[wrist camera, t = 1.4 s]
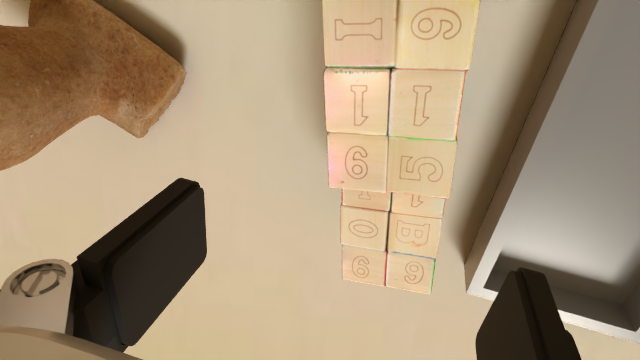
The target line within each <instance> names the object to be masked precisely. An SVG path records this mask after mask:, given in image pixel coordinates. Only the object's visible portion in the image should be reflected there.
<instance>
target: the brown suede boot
mask: <svg viewBox="0 0 640 360" xmlns="http://www.w3.org/2000/svg"><path fill="white" fill-rule="evenodd" d="M28 24H29V27H15V26H3V25H0V171H1V170H4V169H7V168H10V167H12V166H15V165H17V164H19V163H22V162H24V161H26V160H28V159H29V158H31V157H32V156H34V155H35V154H37V153H38V152H39V151H41V150H42V149H43V148H44V147H45V146H47V145H48V144H49V143H51V142H52V141H53V140H55V139H56V138H58V137H59V136H60V135H62V134H63V133H64V132H66V131H67V130H69V129H70V128H72V127H73V126H75V125H76V124H78V123H79V122H81V121H82V120H84V119H86V118H88V117H90V116H93V115H100V116H102V117H104V118H105V119H107V120H109V121H111V122H113V123H114V124H116V125H118V126H119V127H121V128H123V129H124V130H126V131H127V132H129V133H130V134H132V135H134V136H135V137H137V138H142V137H144V136H145V135H146V134H147V132H148V129H149V128H150V127H151V126H152V125H153V124H155V123H156V122H157V121H158V120H159V117H160V116H161V115H162V114H163V113H164V111H165V110H166V109H167V108H168V107H169V105H170V103H171V100H173V99H174V98H175V97H176V96H177V94H178V93H179V91H180V87H181V86H182V85H183V83H184V79H185V76H186V70H185V69H184V67H183V66H182V65H181V64H180V63H179V62H178V61H176V60H175V59H174V58H173V57H171V56H170V55H169V54H167V53H166V52H165V51H164V50H162V49H161V48H160V47H159V46H157V45H156V44H155V43H153V42H152V41H150V40H149V39H148V38H146V37H145V36H143V35H142V34H141V33H139V32H138V31H136V30H135V29H134V28H132V27H131V26H129V25H128V24H127V23H125V22H124V21H123V20H121V19H120V18H118V17H117V16H115V15H114V14H113V13H111V12H110V11H108V10H107V9H105V8H104V7H102V6H101V5H100V4H98V3H96V2H95V1H93V0H31V3H30V9H29V21H28Z"/></svg>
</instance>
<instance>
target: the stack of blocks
mask: <svg viewBox="0 0 640 360" xmlns="http://www.w3.org/2000/svg"><path fill="white" fill-rule="evenodd" d="M480 1H481V0H322V18H323V41H324V61H325V65H326V69H325V70H324V74H323V76H324V98H325V122H326V129H327V132H328V134H327V153H328V176H329V187H331V188H342V204H341V209H340V242H341V244H342V279H345V280H350V281H356V282H361V283H367V284H372V285H377V286H382V287H383V286H388V287H392V288H397V289H402V290H408V291H413V292H419V293H424V294H431V291H432V283H433V275H434V269H435V259H436V258H437V253H438V245H439V238H440V231H441V225H442V217H443V212H444V205H445V199H449V198H450V192H451V185H452V178H453V171H454V163H455V156H456V149H457V129H458V122H459V115H460V108H461V101H462V95H463V88H464V81H465V73H466V72H467V71H468V70H469V68H470V64H471V58H472V51H473V45H474V38H475V31H476V25H477V19H478V13H479V7H480Z"/></svg>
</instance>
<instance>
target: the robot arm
mask: <svg viewBox="0 0 640 360" xmlns="http://www.w3.org/2000/svg"><path fill="white" fill-rule="evenodd" d="M206 254H207V244H206V225H205V205H204V190H203V189H202V188H200V185H199V183H198V182H195V181H191V180H188V179H184V178H179V179H177V180H176V181H174V182H173V183H172V184H170V185H169V186H168V187H167V188H165V189H164V190H163V191H161V192H160V193H159V194H158V195H156V196H155V197H154V198H152V199H151V200H150V201H148V202H147V203H146V204H145V205H143V206H142V207H141V208H139V209H138V210H137V211H135V212H134V213H133V214H132V215H130V216H129V217H128V218H126V219H125V220H124V221H123V222H121V223H120V224H119V225H117V226H116V227H115V228H113V229H112V230H111V231H110V232H108V233H107V234H106V235H104V236H103V237H102V238H100V239H99V240H98V241H97V242H95V243H94V244H93V245H91V246H90V247H89V248H88V249H86V250H85V251H84V252H82V253H81V254H80V255H78V256H77V261H76V262H74V263H73V264H72V265H70V264H69V263H68V262H66V261H63V260H58V259H47V260H41V261H37V262H33V263H30V264H28V265H26V266H23V267H21V268H20V269H18V270H17V271H15V272H13V273H12V274H11V275H10V276H9V277H8V278H7V279H6V281H5V282H4V284H3V286H2V288H1V290H0V360H142V359H139V358H136V357H134V356H131V355H128V354H125V353H123V352H124V351H125V350H126V348H127V347H128V346H133V345H135V344H136V343H137V342H138V341H139V339H140V338H141V337H142V336H143V335H144V333H145V332H146V331H147V330H148V328H149V327H150V326H151V325H152V324H153V322H154V321H155V320H156V319H157V318H158V316H159V315H160V314H161V313H162V312H163V310H164V309H165V308H166V307H167V305H168V304H169V303H170V302H171V301H172V299H173V298H174V297H175V296H176V295H177V293H178V292H179V291H180V290H181V288H182V287H183V286H184V285H185V284H186V282H187V281H188V280H189V279H190V278H191V276H192V275H193V274H194V273H195V272H196V270H197V269H198V268H199V267H200V265H201V264H202V263H203V262H204V260H205V258H206ZM476 354H477V360H581V357H580V354H579V352H578V349H577V347H576V344H575V341H574V339H573V337H572V335H571V334H570V333H569V332H568V331H567V330H565V328H564V325H563V323H562V320H561V317H560V314H559V312H558V309H557V306H556V303H555V301H554V298H553V295H552V292H551V290H550V287H549V284H548V281H547V279H546V276H545V274H543V273H541V272H538V271H534V270H530V269H526V268H522V267H520V268H518V269H517V271H513V270H511V271H510V272H509V273H508V275H507V277H506V279H505V281H504V283H503V285H502V287H501V288H500V290H499V292H498V294H497V296H496V298H495V300H494V302H493V304H492V306H491V308H490V310H489V312H488V314H487V316H486V317H485V319H484V321H483V323H482V325H481V327H480V329H479V331H478V333H477V337H476Z"/></svg>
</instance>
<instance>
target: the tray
mask: <svg viewBox="0 0 640 360" xmlns="http://www.w3.org/2000/svg"><path fill="white" fill-rule="evenodd" d="M520 267H522V268H526V269H530V270H534V271H538V272H541V273H543V274H545V276H546V279H547V281H548V284H549V287H550V290H551V292H552V295H553V298H554V301H555V303H556V306H557V309H558V312H559V314H560V317H561V320H562V321H563V322H567V323H570V324H573V325H577V326H580V327H584V328H587V329H590V330H594V331H597V332H601V333H604V334H608V335H611V336H614V337H618V338H621V339H625V340H628V341H631V342H635V343H638V344H640V0H577V1H576V4H575V6H574V8H573V11H572V13H571V15H570V18H569V20H568V22H567V25H566V27H565V29H564V32H563V34H562V36H561V39H560V41H559V44H558V46H557V48H556V51H555V53H554V55H553V58H552V60H551V62H550V65H549V67H548V69H547V72H546V74H545V76H544V79H543V81H542V84H541V86H540V88H539V91H538V93H537V95H536V98H535V100H534V102H533V105H532V107H531V109H530V112H529V114H528V116H527V119H526V121H525V124H524V126H523V128H522V131H521V133H520V135H519V138H518V140H517V142H516V145H515V147H514V149H513V152H512V154H511V156H510V159H509V161H508V164H507V166H506V168H505V171H504V173H503V175H502V178H501V180H500V182H499V185H498V187H497V189H496V192H495V194H494V196H493V199H492V201H491V204H490V206H489V208H488V211H487V213H486V215H485V218H484V220H483V222H482V225H481V227H480V229H479V232H478V234H477V237H476V239H475V241H474V244H473V246H472V248H471V251H470V253H469V255H468V258H467V260H466V262H465V265H464V269H465V283H466V293H468V294H471V295H475V296H478V297H481V298H485V299H488V300H492V301H494V300H495V298H496V296H497V294H498V292H499V290H500V288H501V287H502V285H503V283H504V281H505V279H506V277H507V275H508V273H509V272H510V271H511V270H513V271H517V269H518V268H520Z"/></svg>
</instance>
